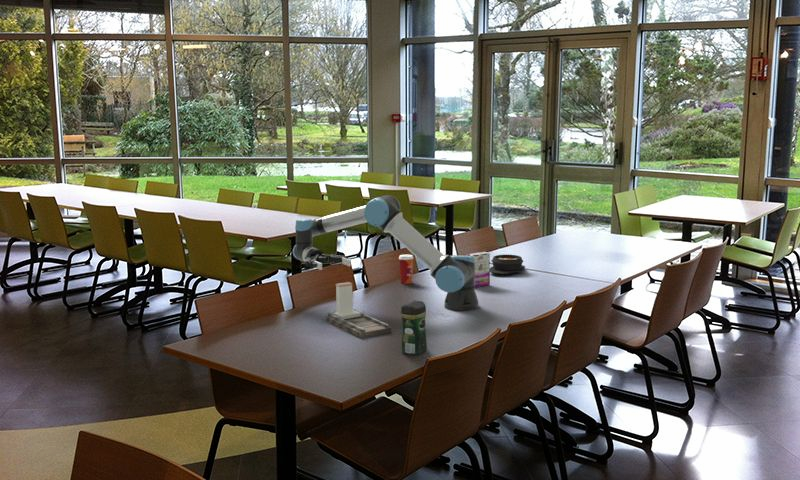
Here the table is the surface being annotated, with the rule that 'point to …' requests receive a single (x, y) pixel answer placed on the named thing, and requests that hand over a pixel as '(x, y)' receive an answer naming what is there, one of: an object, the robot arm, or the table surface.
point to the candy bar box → (481, 268)
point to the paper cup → (406, 268)
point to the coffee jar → (413, 328)
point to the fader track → (360, 325)
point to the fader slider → (345, 301)
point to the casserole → (507, 264)
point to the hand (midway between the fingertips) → (335, 264)
